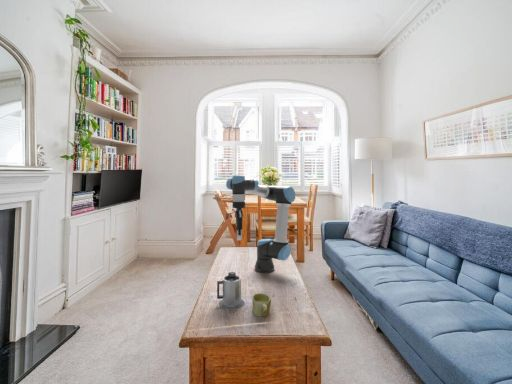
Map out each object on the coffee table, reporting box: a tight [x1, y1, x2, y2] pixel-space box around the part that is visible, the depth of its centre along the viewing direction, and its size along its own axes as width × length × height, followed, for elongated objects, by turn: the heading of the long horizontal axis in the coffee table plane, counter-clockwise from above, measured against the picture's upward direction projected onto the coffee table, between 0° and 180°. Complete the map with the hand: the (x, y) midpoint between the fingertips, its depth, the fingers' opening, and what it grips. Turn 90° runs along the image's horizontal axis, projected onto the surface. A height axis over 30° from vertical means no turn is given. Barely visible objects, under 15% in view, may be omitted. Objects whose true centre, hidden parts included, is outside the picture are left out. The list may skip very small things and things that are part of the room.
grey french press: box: [216, 274, 242, 308], centre depth 137 cm, size 13×10×14 cm
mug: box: [251, 292, 272, 317], centre depth 127 cm, size 12×10×10 cm
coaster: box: [218, 298, 245, 311], centre depth 137 cm, size 14×14×1 cm
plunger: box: [227, 271, 237, 281], centre depth 137 cm, size 7×7×13 cm
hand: (239, 240), depth 151 cm, fingers closed
